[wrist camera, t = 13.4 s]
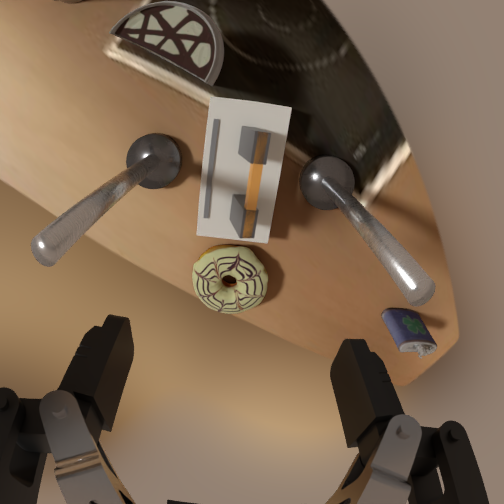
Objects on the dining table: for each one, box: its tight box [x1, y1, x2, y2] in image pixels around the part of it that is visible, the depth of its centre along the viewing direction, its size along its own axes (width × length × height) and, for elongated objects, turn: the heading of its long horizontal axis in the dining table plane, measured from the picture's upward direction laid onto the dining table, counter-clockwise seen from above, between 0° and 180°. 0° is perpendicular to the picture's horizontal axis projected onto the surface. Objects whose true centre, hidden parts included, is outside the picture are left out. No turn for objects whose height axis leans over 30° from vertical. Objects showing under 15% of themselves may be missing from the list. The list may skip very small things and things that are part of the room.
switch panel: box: [197, 97, 292, 243], centre depth 35 cm, size 9×17×3 cm, turn 172°
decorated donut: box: [192, 245, 268, 314], centre depth 42 cm, size 10×11×4 cm
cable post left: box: [31, 133, 182, 267], centre depth 24 cm, size 7×7×24 cm
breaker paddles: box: [229, 126, 271, 238], centre depth 31 cm, size 2×11×5 cm, turn 172°
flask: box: [381, 308, 437, 359], centre depth 44 cm, size 9×3×11 cm, turn 74°
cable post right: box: [299, 155, 435, 306], centre depth 26 cm, size 7×7×24 cm
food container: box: [109, 1, 224, 86], centre depth 24 cm, size 12×6×10 cm, turn 55°
